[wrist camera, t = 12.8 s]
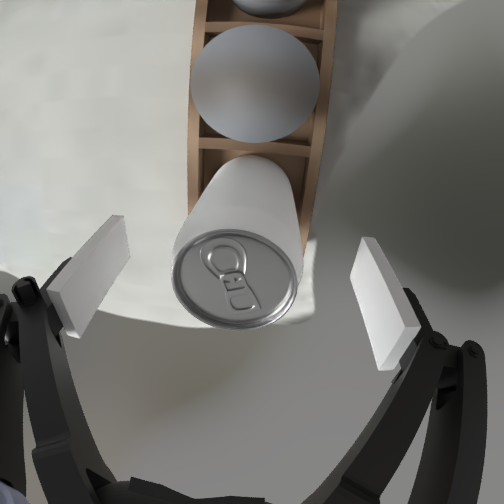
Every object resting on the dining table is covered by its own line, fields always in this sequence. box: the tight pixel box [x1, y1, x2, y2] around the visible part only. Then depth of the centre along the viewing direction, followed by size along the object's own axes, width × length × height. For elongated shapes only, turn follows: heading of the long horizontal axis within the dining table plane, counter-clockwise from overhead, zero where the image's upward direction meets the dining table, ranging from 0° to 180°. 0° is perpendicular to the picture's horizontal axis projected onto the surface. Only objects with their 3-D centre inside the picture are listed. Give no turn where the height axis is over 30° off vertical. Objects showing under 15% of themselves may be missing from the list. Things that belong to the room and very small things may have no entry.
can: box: [171, 155, 304, 331], centre depth 18 cm, size 6×6×12 cm
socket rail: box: [187, 0, 338, 258], centre depth 15 cm, size 27×9×9 cm, turn 176°
